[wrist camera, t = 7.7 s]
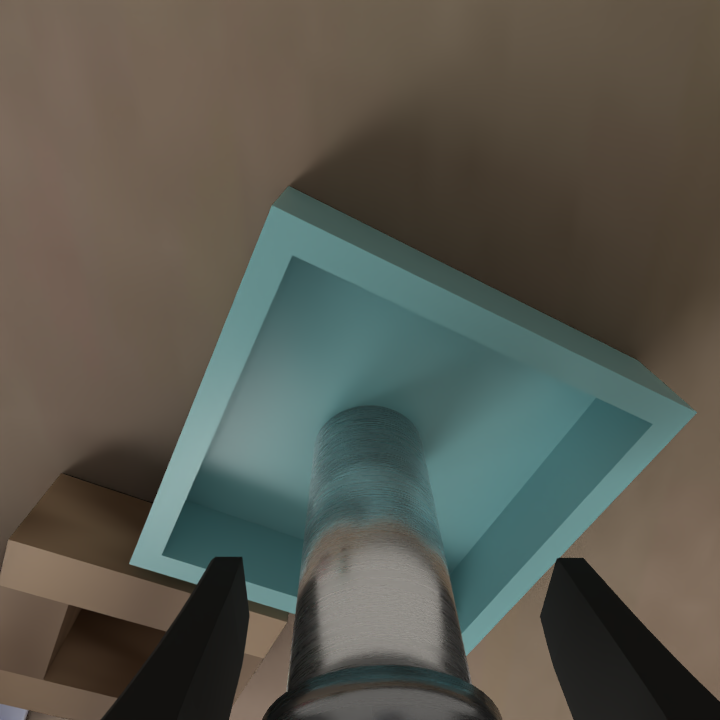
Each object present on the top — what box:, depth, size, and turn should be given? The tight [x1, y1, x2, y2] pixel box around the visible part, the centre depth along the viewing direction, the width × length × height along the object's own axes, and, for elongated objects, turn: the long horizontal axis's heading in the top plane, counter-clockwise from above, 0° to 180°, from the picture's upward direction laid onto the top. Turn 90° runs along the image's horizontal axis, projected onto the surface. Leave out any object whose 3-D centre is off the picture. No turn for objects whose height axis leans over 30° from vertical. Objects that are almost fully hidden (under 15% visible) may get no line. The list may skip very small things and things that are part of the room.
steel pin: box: [262, 405, 502, 720], centre depth 12 cm, size 4×4×9 cm
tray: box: [129, 186, 697, 656], centre depth 15 cm, size 12×12×3 cm
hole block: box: [0, 473, 288, 720], centre depth 19 cm, size 9×9×3 cm
